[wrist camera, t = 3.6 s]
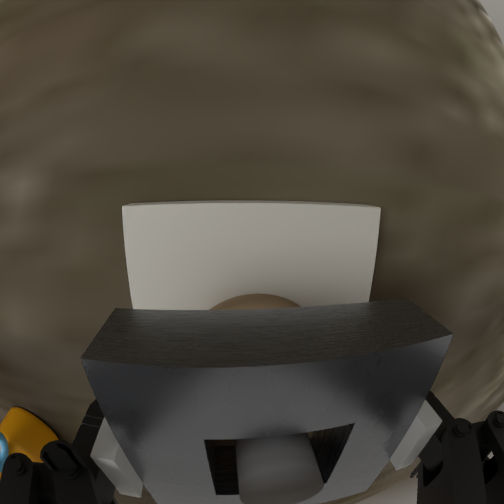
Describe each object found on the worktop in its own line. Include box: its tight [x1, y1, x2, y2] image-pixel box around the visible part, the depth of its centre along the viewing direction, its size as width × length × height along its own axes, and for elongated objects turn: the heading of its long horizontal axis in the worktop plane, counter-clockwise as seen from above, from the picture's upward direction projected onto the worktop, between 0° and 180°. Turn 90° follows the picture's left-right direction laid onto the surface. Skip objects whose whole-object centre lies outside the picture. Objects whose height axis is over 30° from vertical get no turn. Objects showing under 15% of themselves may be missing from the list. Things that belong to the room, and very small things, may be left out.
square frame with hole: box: [80, 298, 453, 504], centre depth 8 cm, size 9×9×2 cm
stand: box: [210, 294, 324, 504], centre depth 9 cm, size 6×6×8 cm
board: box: [122, 200, 381, 310], centre depth 15 cm, size 28×11×1 cm, turn 179°
